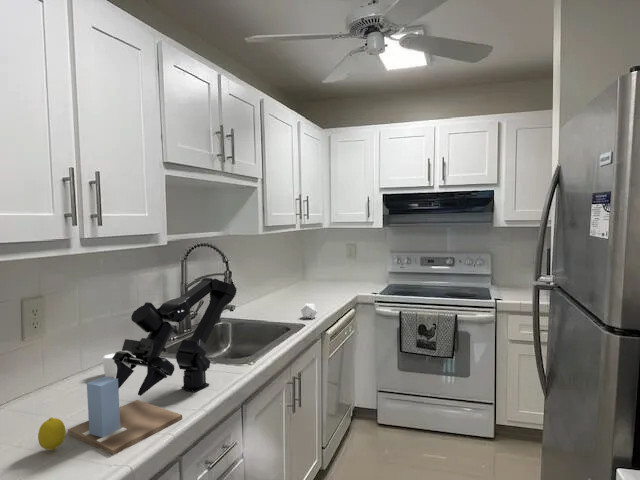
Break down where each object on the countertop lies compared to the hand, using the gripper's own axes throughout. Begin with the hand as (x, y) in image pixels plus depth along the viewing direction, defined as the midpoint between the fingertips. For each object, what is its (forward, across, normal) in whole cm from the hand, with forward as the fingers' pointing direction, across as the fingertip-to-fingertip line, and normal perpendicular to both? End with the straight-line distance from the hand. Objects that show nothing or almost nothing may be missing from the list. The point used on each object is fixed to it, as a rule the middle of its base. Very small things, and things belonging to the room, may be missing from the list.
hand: (126, 392), depth 111 cm
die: (-81, -7, +95) cm, 125 cm away
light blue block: (+10, 0, 0) cm, 10 cm away
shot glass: (-11, -36, +24) cm, 45 cm away
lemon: (+18, -6, -6) cm, 20 cm away
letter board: (+7, +1, +5) cm, 9 cm away
